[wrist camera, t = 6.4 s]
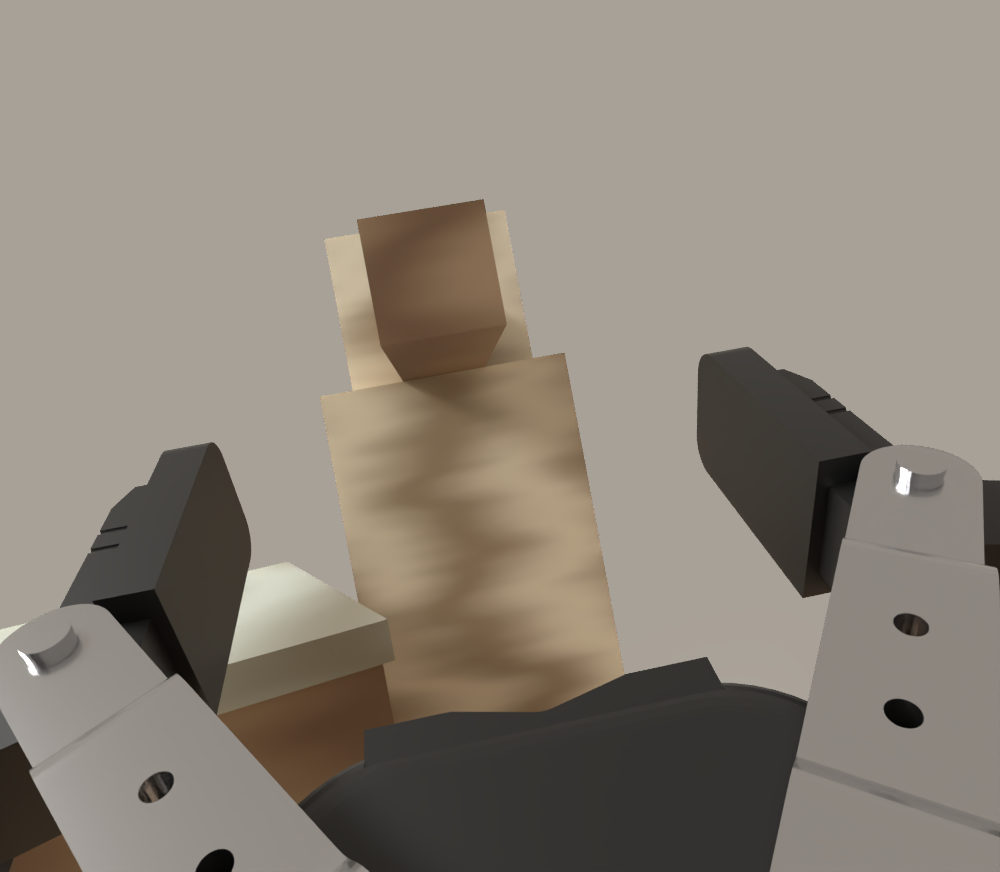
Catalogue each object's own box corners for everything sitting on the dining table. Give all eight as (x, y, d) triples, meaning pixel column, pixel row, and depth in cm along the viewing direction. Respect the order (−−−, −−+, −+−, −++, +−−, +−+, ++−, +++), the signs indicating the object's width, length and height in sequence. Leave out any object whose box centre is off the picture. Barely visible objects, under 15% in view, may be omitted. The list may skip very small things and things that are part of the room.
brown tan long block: (294, 361, 17) (246, 105, 17) (371, 404, 35) (348, 280, 35) (589, 309, 17) (542, 61, 17) (515, 378, 35) (492, 256, 35)
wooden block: (487, 1339, 26) (310, 397, 26) (475, 1099, 36) (346, 410, 36) (745, 1266, 27) (573, 350, 27) (665, 1049, 36) (539, 375, 36)
